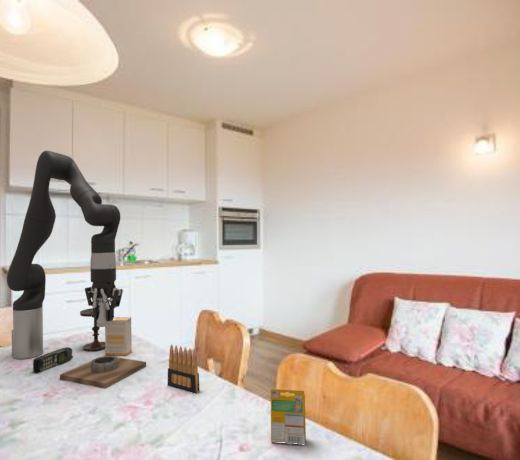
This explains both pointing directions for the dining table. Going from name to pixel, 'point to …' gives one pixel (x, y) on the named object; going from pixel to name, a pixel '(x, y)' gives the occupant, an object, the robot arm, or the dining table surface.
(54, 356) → the mobile phone
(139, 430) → the dining table surface
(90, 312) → the candlestick
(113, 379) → the walnut plate
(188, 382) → the ammunition clip
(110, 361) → the metal collar
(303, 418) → the crayon box
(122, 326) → the supplement box
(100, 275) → the robot arm
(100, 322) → the rook chess piece
